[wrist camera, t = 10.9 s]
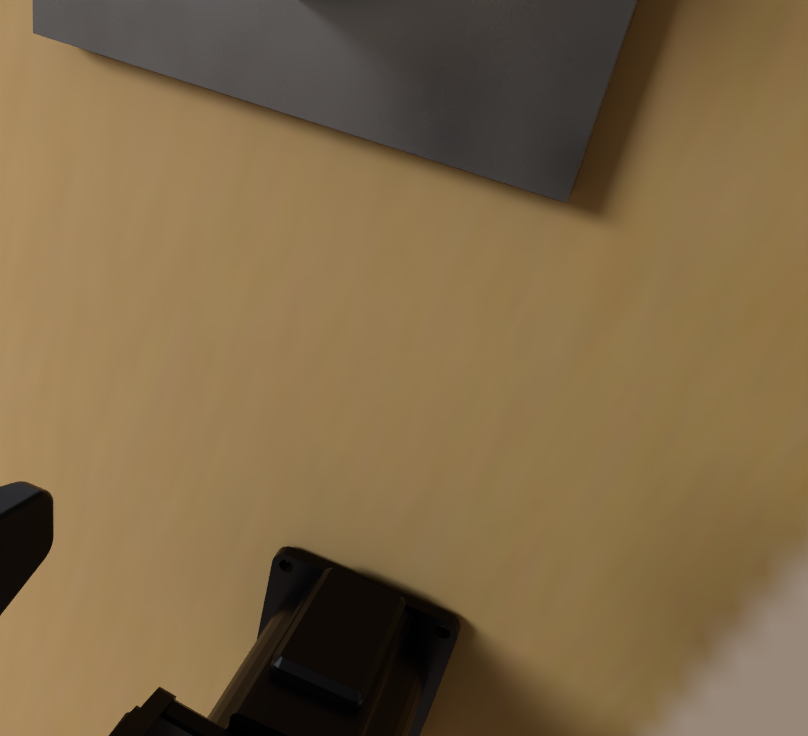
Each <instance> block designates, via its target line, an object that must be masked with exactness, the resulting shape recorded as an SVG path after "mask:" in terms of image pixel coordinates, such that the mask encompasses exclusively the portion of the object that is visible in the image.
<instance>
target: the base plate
mask: <svg viewBox="0 0 808 736" xmlns="http://www.w3.org/2000/svg"><path fill="white" fill-rule="evenodd" d="M637 3H638V0H33V33H35V34H38V35H41V36H44V37H47V38H50V39H53V40H57V41H60V42H63V43H66V44H69V45H72V46H75V47H79V48H82V49H85V50H88V51H91V52H94V53H97V54H101V55H104V56H107V57H110V58H113V59H116V60H119V61H122V62H126V63H129V64H132V65H135V66H138V67H141V68H144V69H148V70H151V71H154V72H157V73H160V74H163V75H166V76H170V77H173V78H176V79H179V80H182V81H185V82H188V83H192V84H195V85H198V86H201V87H204V88H207V89H210V90H214V91H217V92H220V93H223V94H226V95H229V96H232V97H235V98H239V99H242V100H245V101H248V102H251V103H254V104H257V105H261V106H264V107H267V108H270V109H273V110H276V111H279V112H283V113H286V114H289V115H292V116H295V117H298V118H301V119H305V120H308V121H311V122H314V123H317V124H320V125H323V126H327V127H330V128H333V129H336V130H339V131H342V132H345V133H349V134H352V135H355V136H358V137H361V138H364V139H367V140H370V141H374V142H377V143H380V144H383V145H386V146H389V147H392V148H396V149H399V150H402V151H405V152H408V153H411V154H414V155H418V156H421V157H424V158H427V159H430V160H433V161H436V162H440V163H443V164H446V165H449V166H452V167H455V168H458V169H462V170H465V171H468V172H471V173H474V174H477V175H480V176H483V177H487V178H490V179H493V180H496V181H499V182H502V183H505V184H509V185H512V186H515V187H518V188H521V189H524V190H527V191H531V192H534V193H537V194H540V195H543V196H546V197H549V198H553V199H556V200H559V201H562V202H565V203H566V202H567V200H568V198H569V196H570V194H571V192H572V189H573V186H574V183H575V180H576V178H577V175H578V172H579V169H580V166H581V163H582V160H583V158H584V155H585V152H586V149H587V146H588V143H589V140H590V137H591V135H592V132H593V129H594V126H595V123H596V120H597V117H598V115H599V112H600V109H601V106H602V103H603V100H604V97H605V94H606V92H607V89H608V86H609V83H610V80H611V77H612V74H613V72H614V69H615V66H616V63H617V60H618V57H619V54H620V52H621V49H622V46H623V43H624V40H625V37H626V34H627V31H628V29H629V26H630V23H631V20H632V17H633V14H634V11H635V9H636V6H637Z"/></svg>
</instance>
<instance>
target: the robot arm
mask: <svg viewBox="0 0 808 736" xmlns="http://www.w3.org/2000/svg"><path fill="white" fill-rule="evenodd" d="M52 542H53V497H52V496H51V494H50V492H48V491H47V490H44V489H42V488H40V487H37V486H35V485H33V484H30V483H27V482H22V481H21V482H15V483H11V484H8V485H4V486H1V487H0V615H1V614H2V613H3V611H4V610H5V609H6V607H7V606H8V605H9V604H10V602H11V601H12V600H13V599H14V597H15V596H16V595H17V593H18V592H19V591H20V590H21V588H22V587H23V586H24V584H25V583H26V582H27V581H28V579H29V578H30V577H31V576H32V574H33V573H34V572H35V570H36V569H37V568H38V567H39V565H40V564H41V563H42V562H43V560H44V559H45V558H46V556H47V554H48V553H49V551H50V549H51V546H52ZM286 560H287V561H289V562H290V563H291V564H289V563H288V562H286ZM440 626H443V627H445V628H447V629H448V630H446V629H443V628H441V627H440ZM459 631H460V623H459V620H458V619H457V618H456V617H455V616H454V615H452V614H451V613H449V612H446V611H444V610H441V609H439V608H437V607H434V606H432V605H429V604H427V603H425V602H422V601H420V600H418V599H415V598H413V597H410V596H408V595H406V594H403V593H401V592H398V591H396V590H394V589H391V588H389V587H386V586H384V585H382V584H379V583H377V582H374V581H372V580H370V579H367V578H365V577H362V576H360V575H358V574H355V573H353V572H351V571H348V570H346V569H343V568H341V567H339V566H336V565H334V564H331V563H329V562H327V561H324V560H322V559H319V558H317V557H315V556H312V555H310V554H307V553H305V552H303V551H300V550H298V549H295V548H293V547H289V546H287V547H282V548H281V549H280V550H279V551H278V552H277V554H276V555H275V557H274V559H273V561H272V566H271V571H270V576H269V581H268V586H267V591H266V596H265V601H264V606H263V612H262V617H261V622H260V627H259V632H258V637H257V641H256V643H255V644H254V646H253V647H252V649H251V650H250V652H249V654H248V655H247V657H246V658H245V660H244V661H243V663H242V664H241V666H240V668H239V669H238V671H237V672H236V674H235V675H234V677H233V678H232V680H231V682H230V683H229V685H228V686H227V688H226V689H225V691H224V693H223V694H222V696H221V697H220V699H219V700H218V702H217V703H216V705H215V707H214V708H213V710H212V711H211V713H210V714H209V716H208V717H207V718H206V717H204V716H202V715H201V714H199V713H197V712H195V711H194V710H192V709H190V708H189V707H187V706H185V705H183V704H182V703H180V702H178V701H176V700H175V699H176V696H175V695H173V694H171V693H169V692H168V691H166V690H164V689H163V688H161V687H159V688H158V689H157V690H156V691H155V692H154V693H153V694H152V695H151V697H150V698H149V699H148V700H147V701H146V702H145V703H144V704H143V705H142V707H141V708H140V707H138V706H136V707H135V708H134V709H133V710H132V711H131V712H128V713H126V714H125V715H124V716H123V718H122V719H121V720H120V722H119V723H118V724H117V726H116V727H115V728H114V730H113V731H112V732H111V733H110V735H109V736H419V735H420V733H421V730H422V727H423V725H424V722H425V720H426V717H427V715H428V712H429V709H430V707H431V704H432V702H433V699H434V697H435V694H436V691H437V689H438V686H439V684H440V681H441V679H442V676H443V673H444V671H445V668H446V666H447V663H448V661H449V658H450V655H451V653H452V650H453V648H454V645H455V643H456V640H457V637H458V634H459Z"/></svg>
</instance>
